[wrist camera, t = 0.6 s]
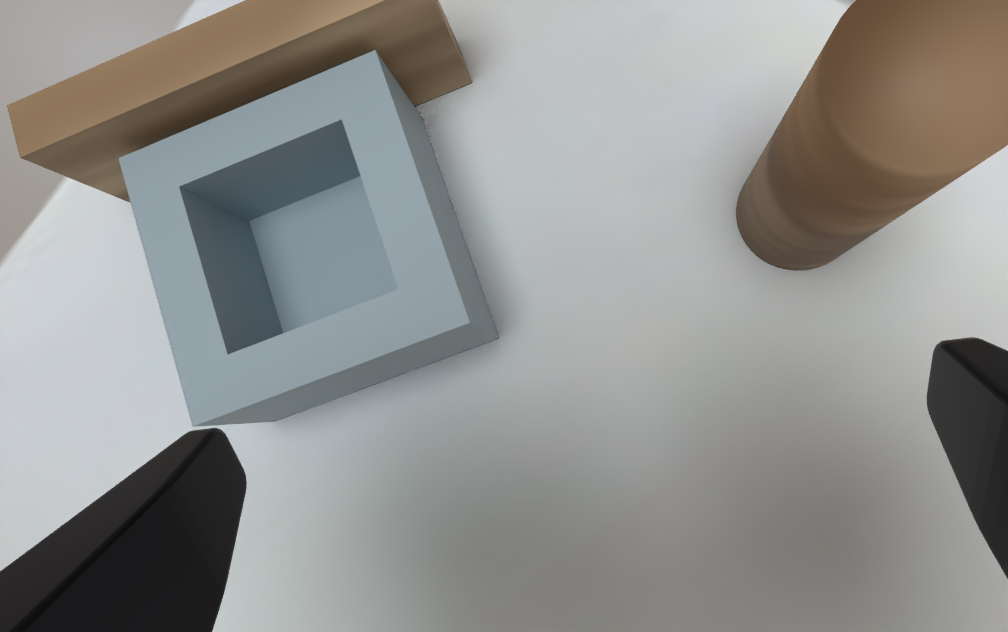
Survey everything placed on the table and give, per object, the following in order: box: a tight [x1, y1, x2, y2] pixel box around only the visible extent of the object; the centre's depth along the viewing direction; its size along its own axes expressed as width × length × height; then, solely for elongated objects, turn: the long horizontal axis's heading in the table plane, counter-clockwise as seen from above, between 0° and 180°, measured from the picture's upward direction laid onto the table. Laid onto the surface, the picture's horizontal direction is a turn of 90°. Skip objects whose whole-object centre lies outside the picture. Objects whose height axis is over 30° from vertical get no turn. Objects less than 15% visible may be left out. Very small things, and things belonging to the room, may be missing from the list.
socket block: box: [119, 50, 499, 427], centre depth 22 cm, size 8×8×5 cm
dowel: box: [736, 0, 1008, 270], centre depth 18 cm, size 4×4×10 cm
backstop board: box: [7, 0, 472, 203], centre depth 22 cm, size 2×12×6 cm, turn 109°
